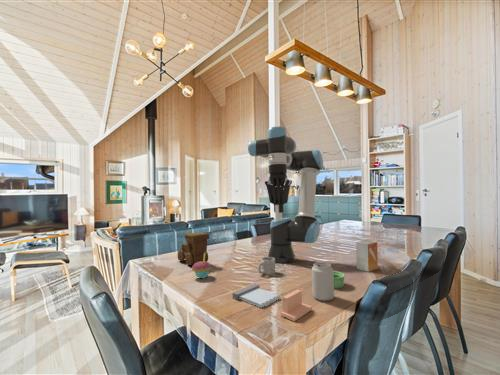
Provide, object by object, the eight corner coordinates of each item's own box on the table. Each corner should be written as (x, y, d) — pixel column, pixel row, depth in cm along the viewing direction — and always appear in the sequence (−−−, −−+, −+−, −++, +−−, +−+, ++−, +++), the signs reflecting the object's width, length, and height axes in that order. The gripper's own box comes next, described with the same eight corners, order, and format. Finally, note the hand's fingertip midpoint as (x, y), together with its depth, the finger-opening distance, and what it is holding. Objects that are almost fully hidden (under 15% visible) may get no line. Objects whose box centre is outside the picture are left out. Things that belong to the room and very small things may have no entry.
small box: (368, 272, 117) (367, 244, 118) (356, 268, 123) (355, 242, 123) (378, 268, 122) (377, 241, 122) (366, 265, 127) (365, 240, 127)
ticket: (232, 298, 92) (232, 292, 92) (255, 288, 100) (254, 283, 100) (259, 309, 83) (259, 303, 83) (281, 297, 91) (281, 292, 91)
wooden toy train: (211, 264, 136) (210, 233, 136) (191, 268, 129) (191, 236, 129) (194, 257, 151) (193, 229, 152) (175, 261, 144) (175, 231, 144)
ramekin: (342, 290, 97) (342, 279, 97) (318, 286, 101) (318, 275, 101) (346, 283, 104) (346, 272, 104) (324, 279, 109) (324, 269, 109)
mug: (267, 269, 125) (267, 256, 125) (278, 272, 120) (277, 258, 120) (253, 274, 118) (253, 260, 118) (264, 277, 113) (263, 263, 113)
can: (309, 294, 94) (308, 261, 94) (329, 292, 95) (328, 260, 95) (316, 302, 87) (315, 267, 87) (337, 301, 87) (336, 266, 88)
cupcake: (214, 275, 118) (213, 249, 118) (205, 281, 110) (204, 253, 110) (198, 273, 121) (197, 248, 121) (188, 279, 113) (188, 252, 113)
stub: (280, 315, 78) (280, 297, 78) (298, 304, 85) (298, 288, 85) (294, 321, 74) (294, 302, 74) (312, 309, 82) (311, 292, 82)
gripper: (260, 165, 108) (261, 220, 108) (284, 162, 99) (286, 222, 99) (271, 166, 113) (272, 218, 113) (295, 163, 104) (297, 220, 104)
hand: (278, 220), depth 106 cm, fingers closed
